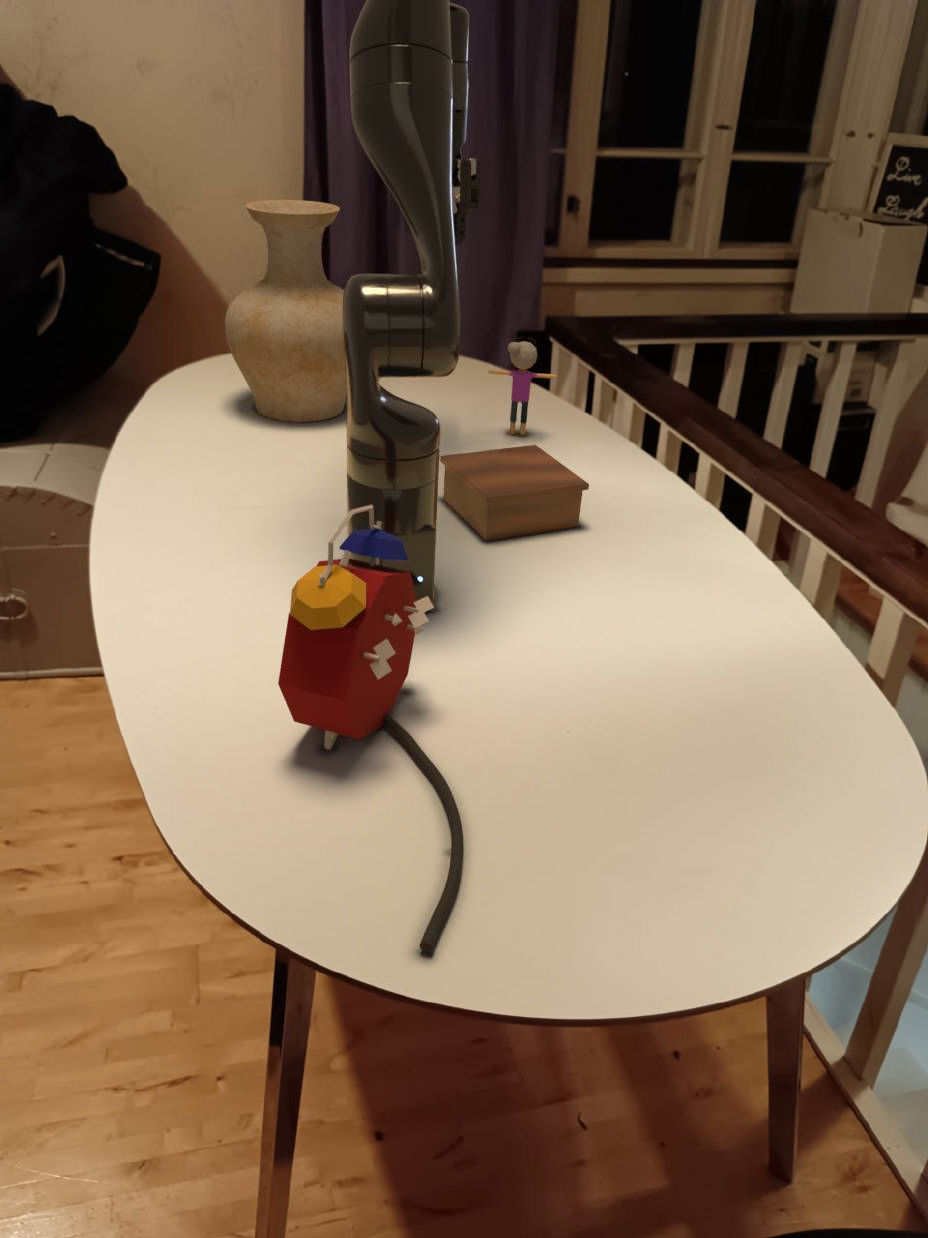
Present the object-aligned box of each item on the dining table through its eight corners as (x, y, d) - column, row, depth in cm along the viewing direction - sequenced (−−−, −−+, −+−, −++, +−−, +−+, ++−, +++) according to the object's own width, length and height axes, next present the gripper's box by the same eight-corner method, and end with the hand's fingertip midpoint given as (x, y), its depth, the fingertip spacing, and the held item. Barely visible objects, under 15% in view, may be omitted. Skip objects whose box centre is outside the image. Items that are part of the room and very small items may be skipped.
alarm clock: (357, 665, 91) (355, 469, 81) (441, 687, 89) (451, 488, 79) (280, 756, 79) (267, 539, 69) (375, 783, 77) (376, 564, 67)
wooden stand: (583, 527, 120) (589, 483, 117) (483, 543, 115) (487, 497, 112) (531, 485, 131) (535, 444, 128) (438, 498, 126) (439, 455, 123)
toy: (550, 432, 150) (560, 336, 142) (550, 445, 145) (560, 346, 137) (484, 427, 150) (491, 331, 143) (481, 439, 146) (488, 340, 138)
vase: (214, 425, 145) (195, 212, 129) (250, 382, 164) (238, 191, 148) (357, 435, 144) (355, 223, 129) (377, 390, 163) (378, 200, 148)
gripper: (378, 97, 122) (377, 231, 131) (456, 106, 114) (450, 249, 123) (421, 97, 127) (418, 227, 136) (499, 106, 119) (490, 244, 127)
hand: (433, 237), depth 129 cm, fingers open, 8 cm apart
